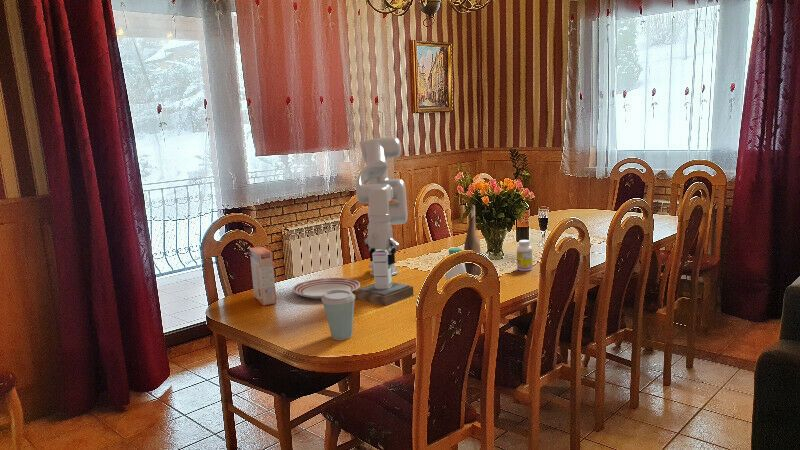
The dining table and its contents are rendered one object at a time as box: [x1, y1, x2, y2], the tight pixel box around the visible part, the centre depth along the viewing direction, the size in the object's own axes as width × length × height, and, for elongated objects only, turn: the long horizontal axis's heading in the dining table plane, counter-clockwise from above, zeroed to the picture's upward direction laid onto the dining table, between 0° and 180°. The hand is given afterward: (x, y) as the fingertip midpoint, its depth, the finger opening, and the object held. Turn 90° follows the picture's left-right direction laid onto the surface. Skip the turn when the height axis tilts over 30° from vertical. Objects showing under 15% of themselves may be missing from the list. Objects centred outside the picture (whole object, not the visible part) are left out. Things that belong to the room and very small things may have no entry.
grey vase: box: [463, 204, 482, 276], centre depth 246 cm, size 11×12×32 cm
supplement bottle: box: [516, 239, 533, 272], centre depth 260 cm, size 7×7×13 cm
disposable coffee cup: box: [321, 289, 356, 341], centre depth 190 cm, size 11×11×15 cm
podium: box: [354, 281, 414, 307], centre depth 232 cm, size 16×16×4 cm
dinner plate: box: [292, 277, 361, 300], centre depth 243 cm, size 27×27×3 cm
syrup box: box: [372, 249, 393, 289], centre depth 230 cm, size 6×6×14 cm
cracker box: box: [249, 246, 277, 307], centre depth 235 cm, size 14×6×21 cm, turn 27°
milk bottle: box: [445, 247, 466, 281], centre depth 220 cm, size 8×8×20 cm
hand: (382, 262), depth 230 cm, fingers open, 9 cm apart
